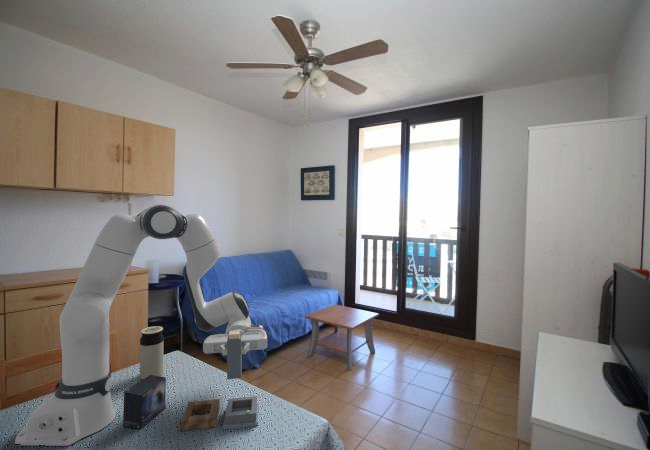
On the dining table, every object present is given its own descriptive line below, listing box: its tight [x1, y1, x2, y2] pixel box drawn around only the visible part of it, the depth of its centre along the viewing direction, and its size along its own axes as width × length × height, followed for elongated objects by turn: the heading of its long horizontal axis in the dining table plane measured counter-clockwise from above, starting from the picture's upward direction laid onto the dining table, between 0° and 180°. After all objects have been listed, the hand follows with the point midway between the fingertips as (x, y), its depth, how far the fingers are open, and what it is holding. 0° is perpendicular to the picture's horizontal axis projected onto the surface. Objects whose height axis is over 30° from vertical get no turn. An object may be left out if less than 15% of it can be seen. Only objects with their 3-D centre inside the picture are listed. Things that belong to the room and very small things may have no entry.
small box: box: [122, 375, 167, 430], centre depth 94 cm, size 11×6×10 cm, turn 168°
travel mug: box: [139, 325, 165, 380], centre depth 119 cm, size 8×8×18 cm
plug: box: [226, 330, 243, 380], centre depth 95 cm, size 4×4×14 cm
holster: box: [180, 398, 221, 432], centre depth 94 cm, size 9×9×3 cm
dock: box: [222, 395, 259, 430], centre depth 95 cm, size 10×10×4 cm
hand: (234, 352), depth 94 cm, fingers closed on plug, 4 cm apart
